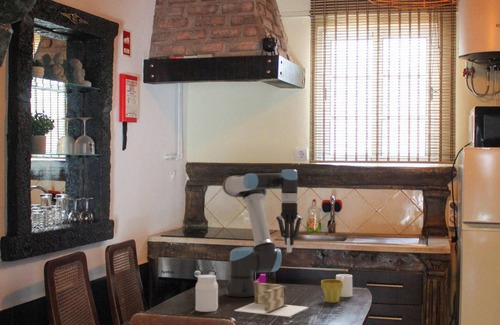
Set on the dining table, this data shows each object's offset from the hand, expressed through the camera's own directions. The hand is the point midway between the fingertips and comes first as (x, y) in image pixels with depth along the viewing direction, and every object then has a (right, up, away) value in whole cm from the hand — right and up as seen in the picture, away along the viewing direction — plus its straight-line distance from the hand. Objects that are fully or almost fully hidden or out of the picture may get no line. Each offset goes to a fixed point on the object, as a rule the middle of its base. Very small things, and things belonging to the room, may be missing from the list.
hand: (289, 252), depth 334 cm
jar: (-38, -25, -13) cm, 47 cm away
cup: (+28, -25, +18) cm, 42 cm away
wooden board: (-7, -23, -14) cm, 28 cm away
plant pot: (+21, -25, +5) cm, 33 cm away
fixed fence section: (-10, -24, -4) cm, 26 cm away
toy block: (-18, -25, +41) cm, 51 cm away
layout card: (-9, -24, -13) cm, 29 cm away
